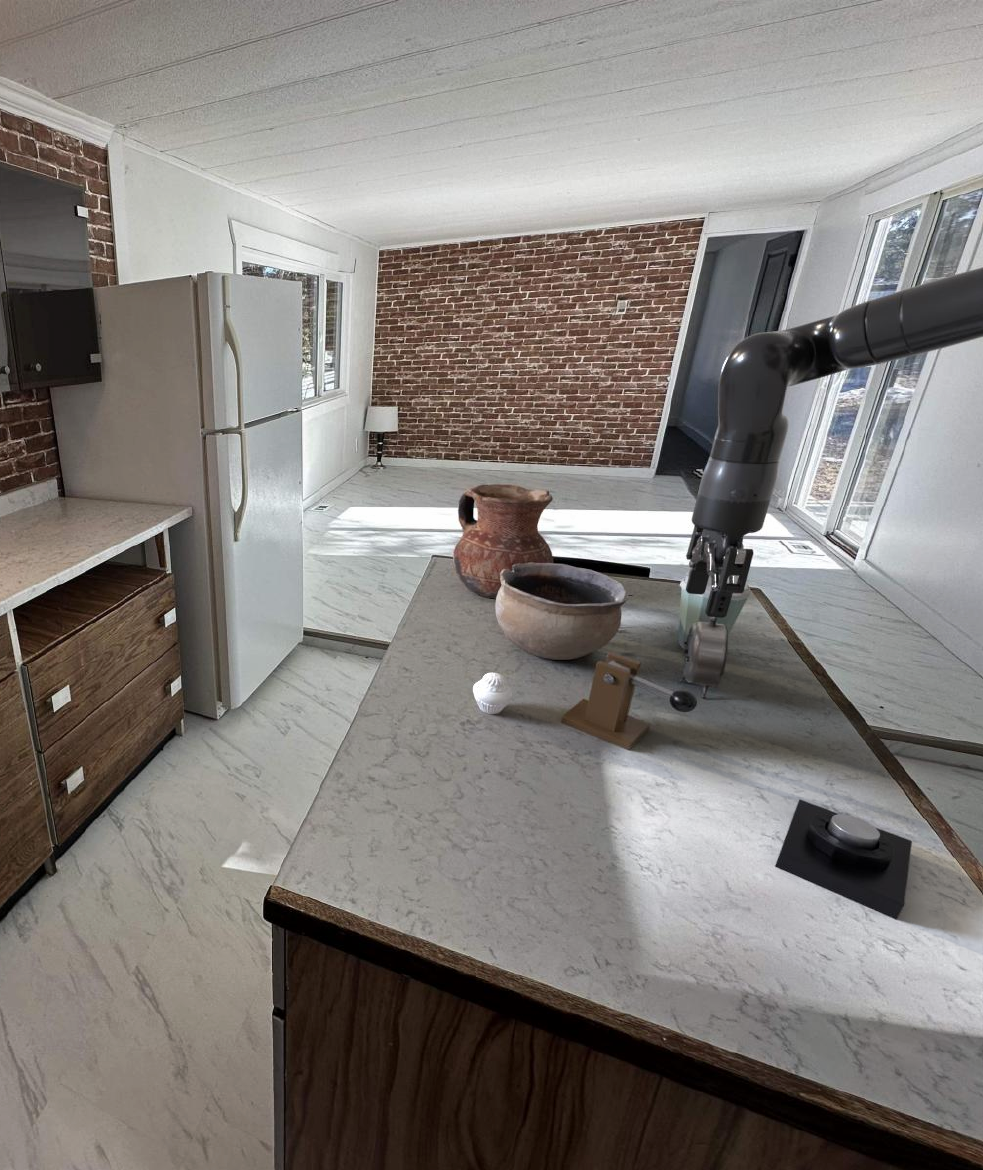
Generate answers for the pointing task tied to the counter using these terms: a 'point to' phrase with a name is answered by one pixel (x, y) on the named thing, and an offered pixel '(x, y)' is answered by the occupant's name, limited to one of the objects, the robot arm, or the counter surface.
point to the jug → (498, 534)
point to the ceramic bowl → (558, 609)
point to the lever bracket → (609, 705)
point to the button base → (846, 861)
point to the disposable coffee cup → (696, 607)
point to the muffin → (492, 693)
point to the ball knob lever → (663, 691)
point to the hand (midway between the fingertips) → (704, 604)
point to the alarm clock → (705, 654)
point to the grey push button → (853, 831)
